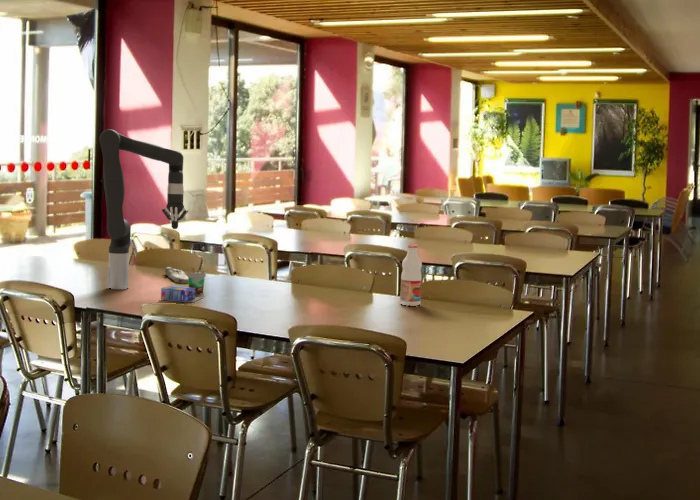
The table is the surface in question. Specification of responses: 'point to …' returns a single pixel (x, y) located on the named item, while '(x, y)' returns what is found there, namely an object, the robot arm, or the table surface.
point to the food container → (197, 281)
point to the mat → (190, 300)
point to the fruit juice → (411, 278)
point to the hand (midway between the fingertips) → (174, 228)
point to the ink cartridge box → (177, 293)
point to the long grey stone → (177, 275)
